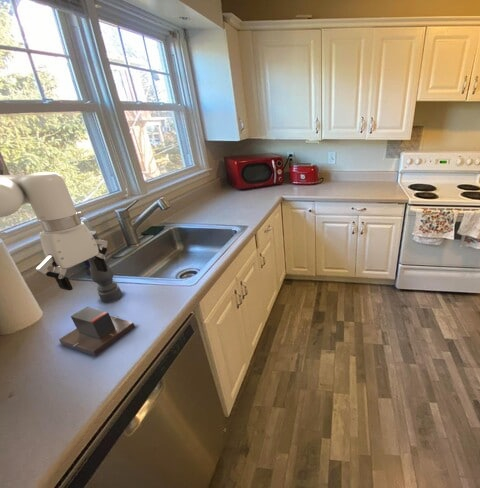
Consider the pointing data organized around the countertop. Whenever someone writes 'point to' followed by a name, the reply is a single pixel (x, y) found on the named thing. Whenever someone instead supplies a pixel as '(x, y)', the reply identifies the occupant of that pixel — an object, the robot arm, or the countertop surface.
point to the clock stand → (95, 344)
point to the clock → (93, 322)
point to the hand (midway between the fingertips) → (86, 279)
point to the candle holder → (104, 280)
